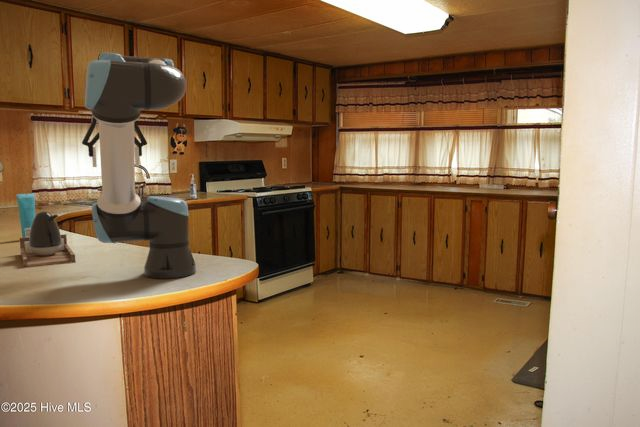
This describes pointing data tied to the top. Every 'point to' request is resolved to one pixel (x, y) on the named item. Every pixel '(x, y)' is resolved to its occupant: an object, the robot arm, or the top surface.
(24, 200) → the tube
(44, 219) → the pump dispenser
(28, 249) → the pusher
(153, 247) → the robot arm
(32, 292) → the top surface
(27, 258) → the brown wooden tray
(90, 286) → the top surface
